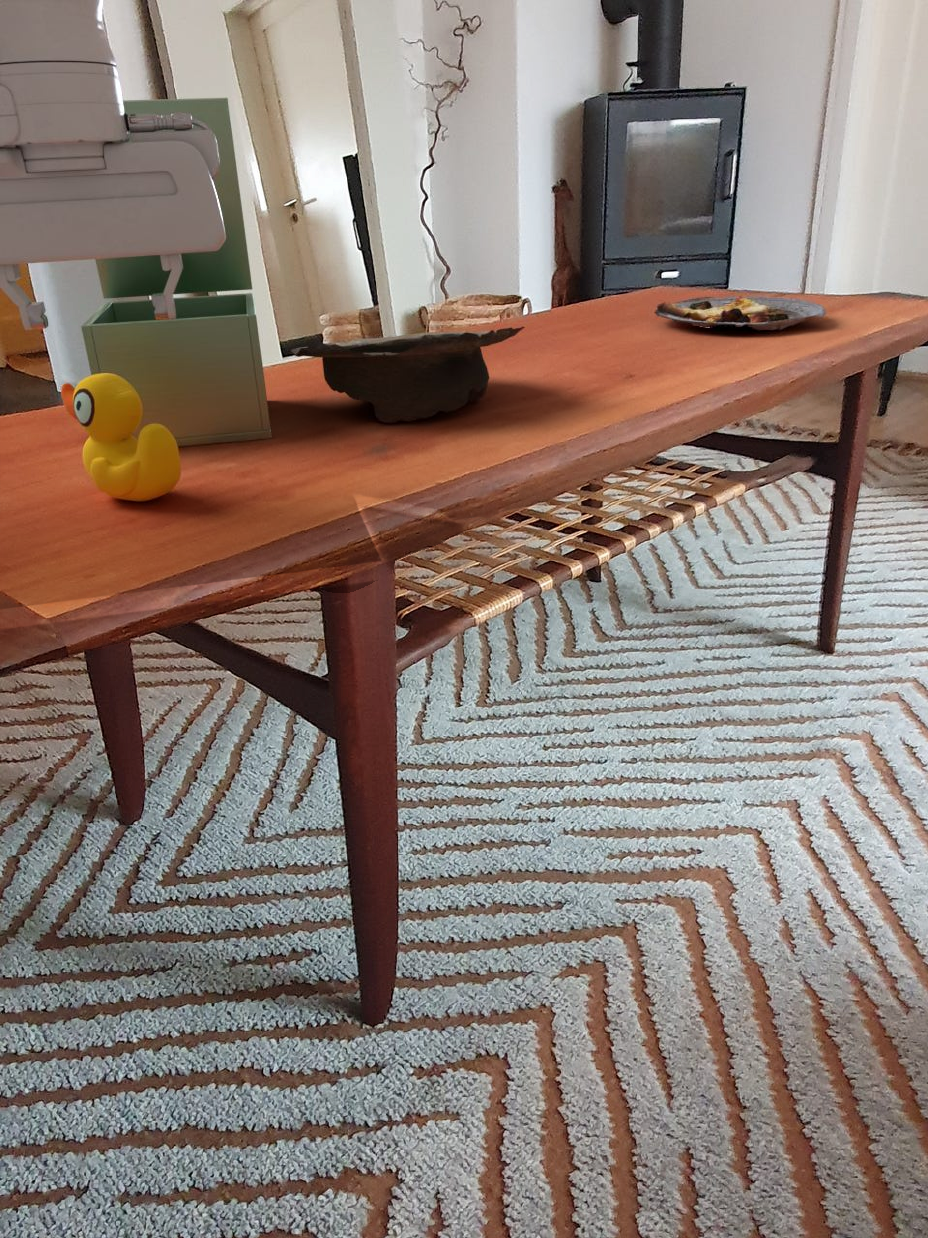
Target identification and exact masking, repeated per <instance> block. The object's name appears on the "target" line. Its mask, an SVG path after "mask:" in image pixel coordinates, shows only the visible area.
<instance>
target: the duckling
mask: <svg viewBox="0 0 928 1238" xmlns="http://www.w3.org/2000/svg"><path fill="white" fill-rule="evenodd" d="M60 395H61V400H62V402H63V405H64V408H65V411H67V412H68V414H69V415H70V416H71V417H72V418H74V419H75V420H77V421H78V423H79V424H80V426H81V428H82V429H83V430H84V431H85V432H86V433H87V435H88V436H89V437H88V438H87V439H86V441H85V443H84V444H83V448H82V464H83V465H84V468H85V471H86V473H87V475H88V476H89V477H90V479H91V480H92V482H93V484H94V485H95V487H96V488H97V489H98V490H99V491H100V492H102V493H104V494H106V495H108V496H109V497H110V498H113V499H117V500H124V501H131V502H147V501H152V500H154V499H157V498H159V497H162V496H164V495H167V494H168V493H170V492H171V491H172V490H173V489H175V487H176V486H177V484H178V483H179V482H180V479H181V475H182V463H181V456H180V451H179V447H178V446H177V442H176V440H175V438H174V437H173V435H172V434H171V433H170V431H169V430H168V429H167V428H166V427H165V426H163V425H161V424H156V423H153V424H149V425H146V426H145V427H143V428H142V430H141V432H140V434H139V438H138V440H137V439H136V438H135V437H134V436H133V435H132V433H133V432H134V431H135V430H136V429H137V428H138V427H139V425H140V423H141V420H142V414H143V409H142V403H141V400H140V397H139V395H138V393H137V392H136V390H135V389H134V388H133V386H132V385H131V384H130V383H129V382H127V381H126V380H125V379H123V378H122V377H120V376H118V375H115V374H110V373H100V374H94V375H91V374H90V375H89V376H87V377H85V378H83V379H81V380H80V381H79V382H78V384H77V385H76V386H75V387H74V386H73V385H72V384H71V383H69V382H65V383H63V384H62V385H61V388H60Z"/></svg>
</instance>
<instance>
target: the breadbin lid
mask: <svg viewBox="0 0 928 1238" xmlns="http://www.w3.org/2000/svg"><path fill="white" fill-rule="evenodd" d="M123 104H124V109H125V113H126V115H131V114H153V115H154V114H156V115H161V116H162V115H172V114H173V113H188V114H191V117H192V119H197V120H200V121H202V122H204V123H205V124H206V125H207V126H208V127H209V128H210V129H211V130H212V132H213V133H214V135H215V137H216V141H217V147H218V154H219V160H220V167H219V171H218V174H217V176H216V177H215V179H214V180H213V183H214V186H215V190H216V193H217V197H218V200H219V204H220V209H221V213H222V218H223V222H224V228H225V234H226V239H225V242H224V243H223V245H222V246H221V247H220V248H219V250H217V251H212V252H197V253H181V257H182V263H183V269H182V272H181V275H180V278H179V280H178V283H177V286H176V288H175V291H174V293H173V295H186V294H201V293H204V294H205V293H217V292H233V291H235V292H237V291H249V290H250V291H251V290H253V283H252V274H251V267H250V260H249V252H248V244H247V235H246V227H245V221H244V213H243V203H242V197H241V196H242V195H241V189H240V182H239V173H238V166H237V159H236V151H235V143H234V135H233V127H232V121H231V120H232V119H231V118H232V117H231V112H230V111H231V110H230V104H229V98H228V97H204V98H202V97H201V98H200V97H199V98H167V99H166V98H165V99H163V98H161V99H130V100H129V99H128V100H127V99H126V100H124V99H123ZM190 130H203V129H202V128H200V127H199V126H196V125H193V129H190ZM163 131H175V130H168V129H167V130H162V131H156V132H163ZM186 131H187V130H186ZM128 133H129V137H130V130H129V132H128ZM129 142H131V138H130V141H129ZM125 143H128V142H125ZM94 261H95V265H96V271H97V274H98V279H99V283H100V288H101V292H102V297H103V299H104V300H107V299H122V298H138V297H152V295H153V294H157V293H163V292H164V289H165V286H166V284H167V281H168V278H169V275H170V273H171V269H170V270H169V271H164V270H163V269H162V264H161V258H160V255H150V256H135V257H119V258H104V259H94Z"/></svg>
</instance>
